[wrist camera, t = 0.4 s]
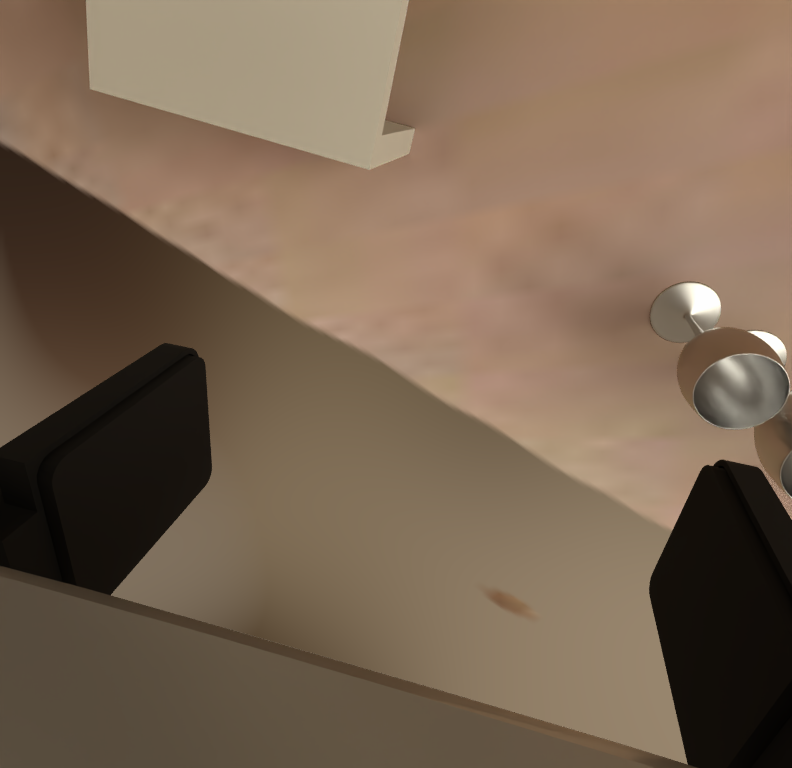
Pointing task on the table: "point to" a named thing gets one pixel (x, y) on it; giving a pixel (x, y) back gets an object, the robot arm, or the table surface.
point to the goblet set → (730, 373)
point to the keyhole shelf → (260, 68)
